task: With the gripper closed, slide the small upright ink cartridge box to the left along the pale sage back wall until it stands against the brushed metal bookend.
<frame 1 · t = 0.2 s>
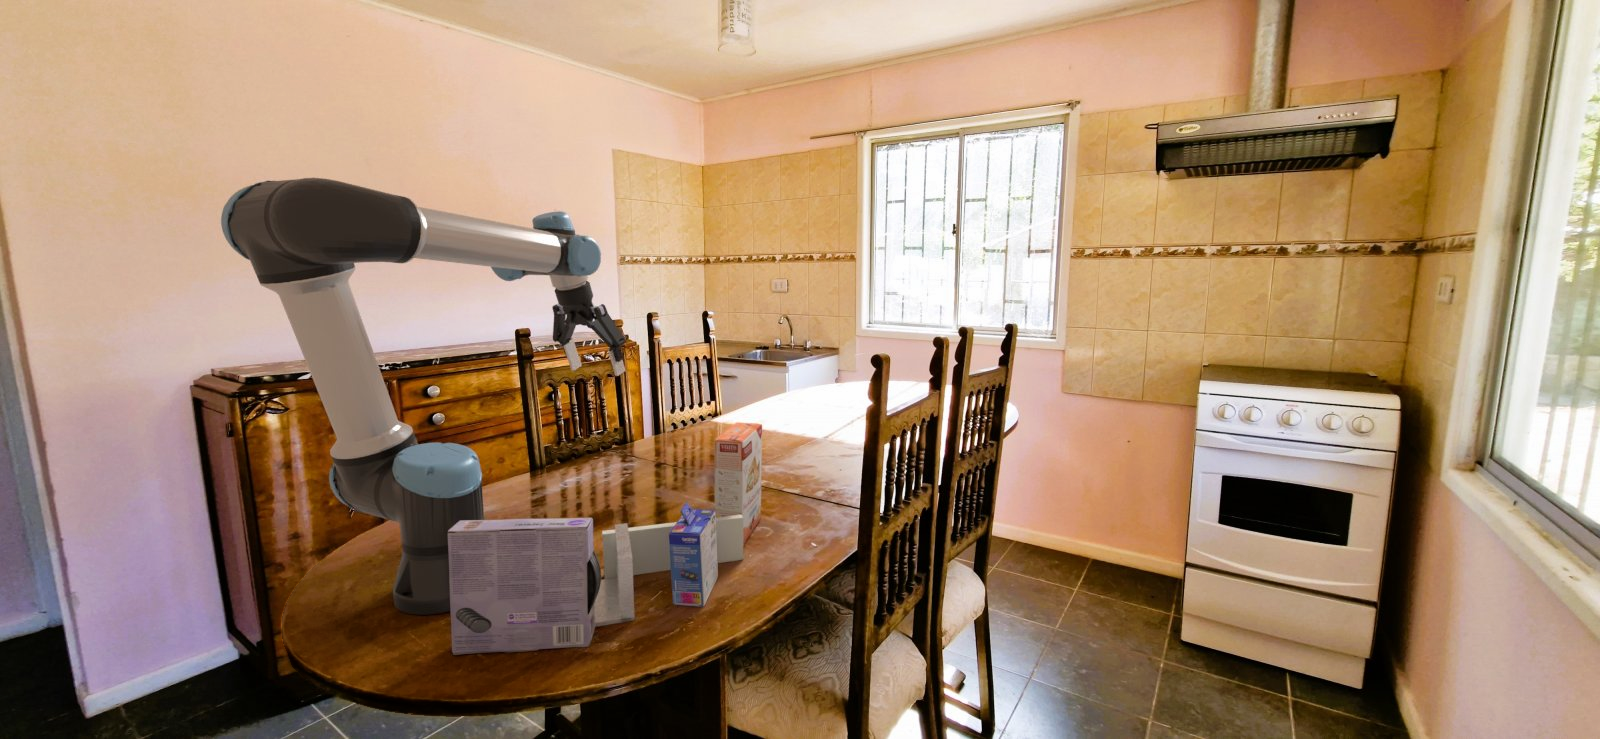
hand: (598, 370, 146), 28 cm above the table, tool tilted 20°, fingers open, 13 cm apart
cracker box: (739, 533, 125), on the table
ink cartridge box: (695, 591, 102), on the table
back wall: (675, 567, 110), on the table
cake pan box: (530, 643, 88), on the table
bookend: (625, 599, 99), on the table
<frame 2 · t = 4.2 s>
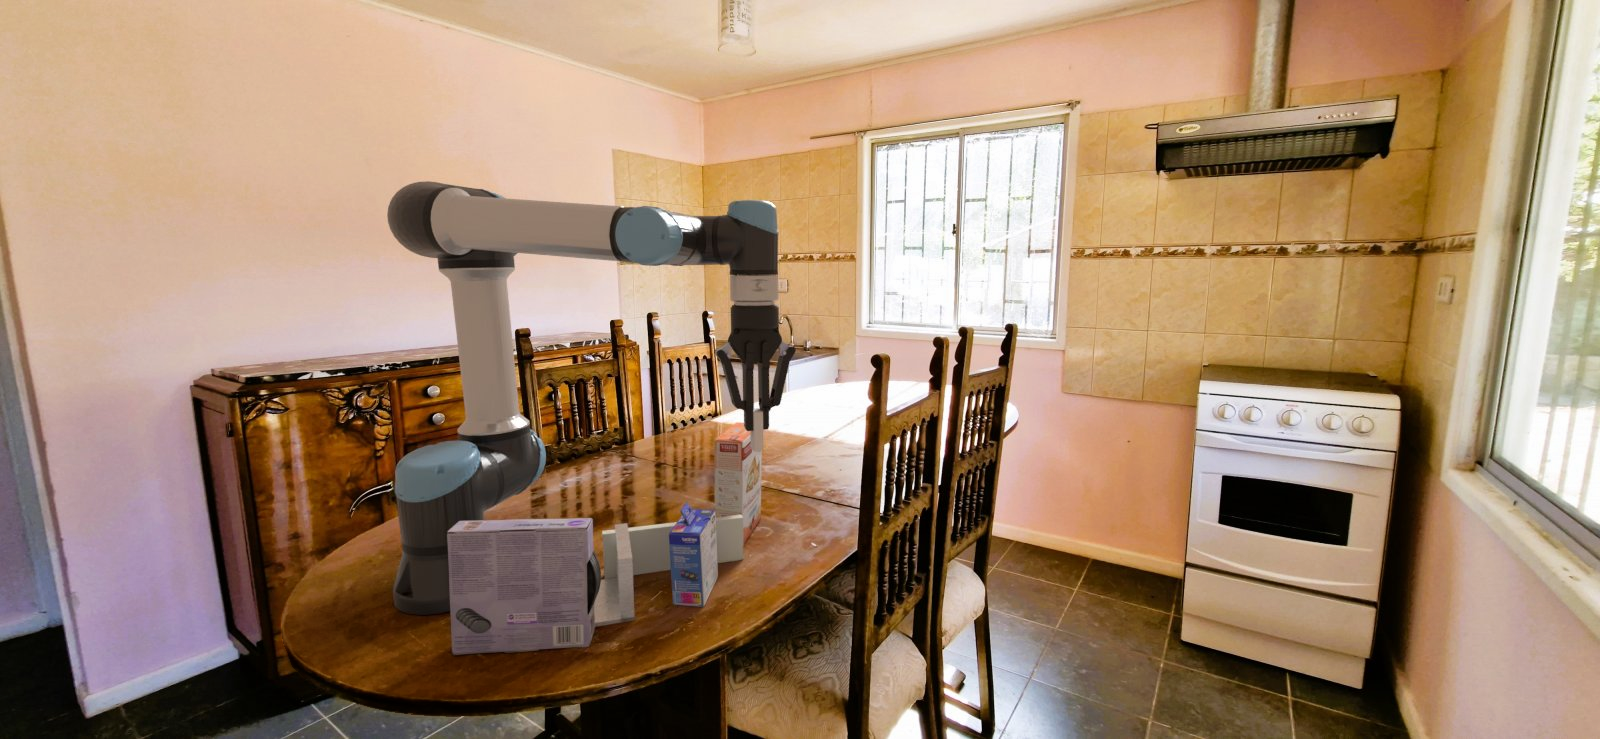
hand: (757, 449, 101), 23 cm above the table, tool pointing down, fingers closed
nothing on the table moved.
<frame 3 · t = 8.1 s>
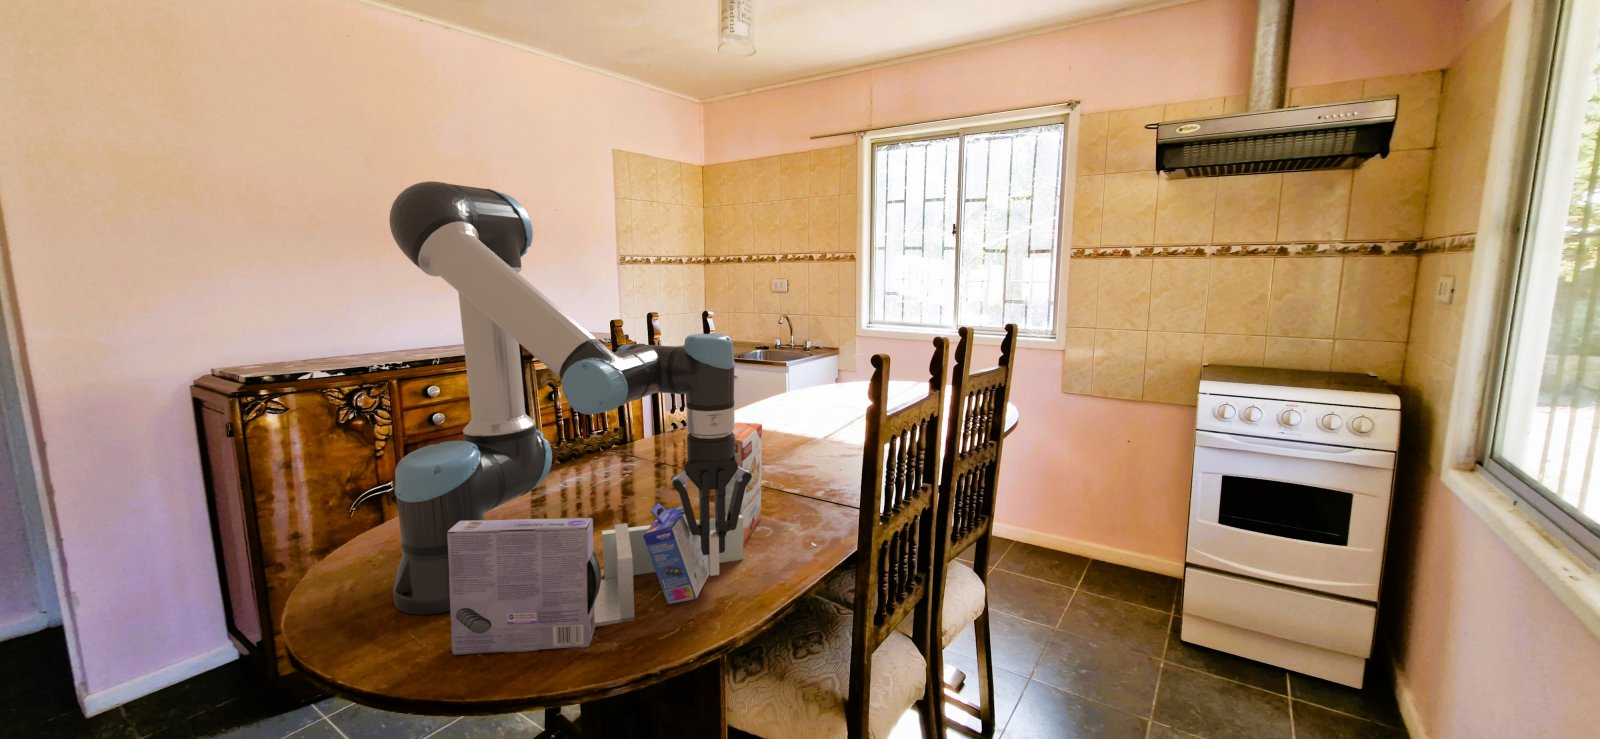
hand: (713, 571, 103), 3 cm above the table, tool pointing down, fingers closed
ink cartridge box: (690, 588, 102), on the table, touching gripper, hand
everything else where it was.
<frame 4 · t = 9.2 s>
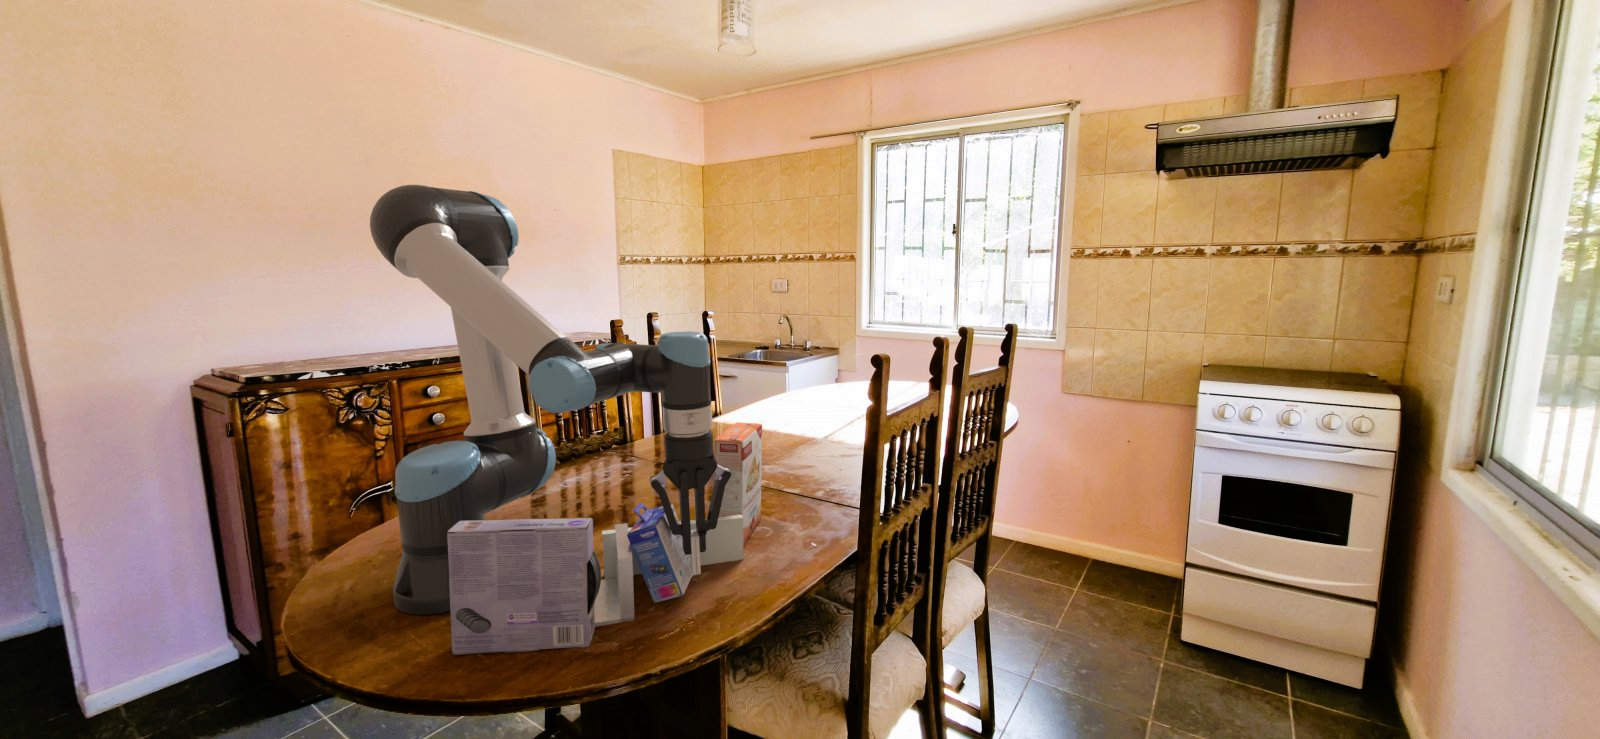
hand: (695, 570, 102), 3 cm above the table, tool pointing down, fingers closed
ink cartridge box: (675, 586, 102), point 1 cm above the table, touching bookend, gripper, hand
everything else where it was.
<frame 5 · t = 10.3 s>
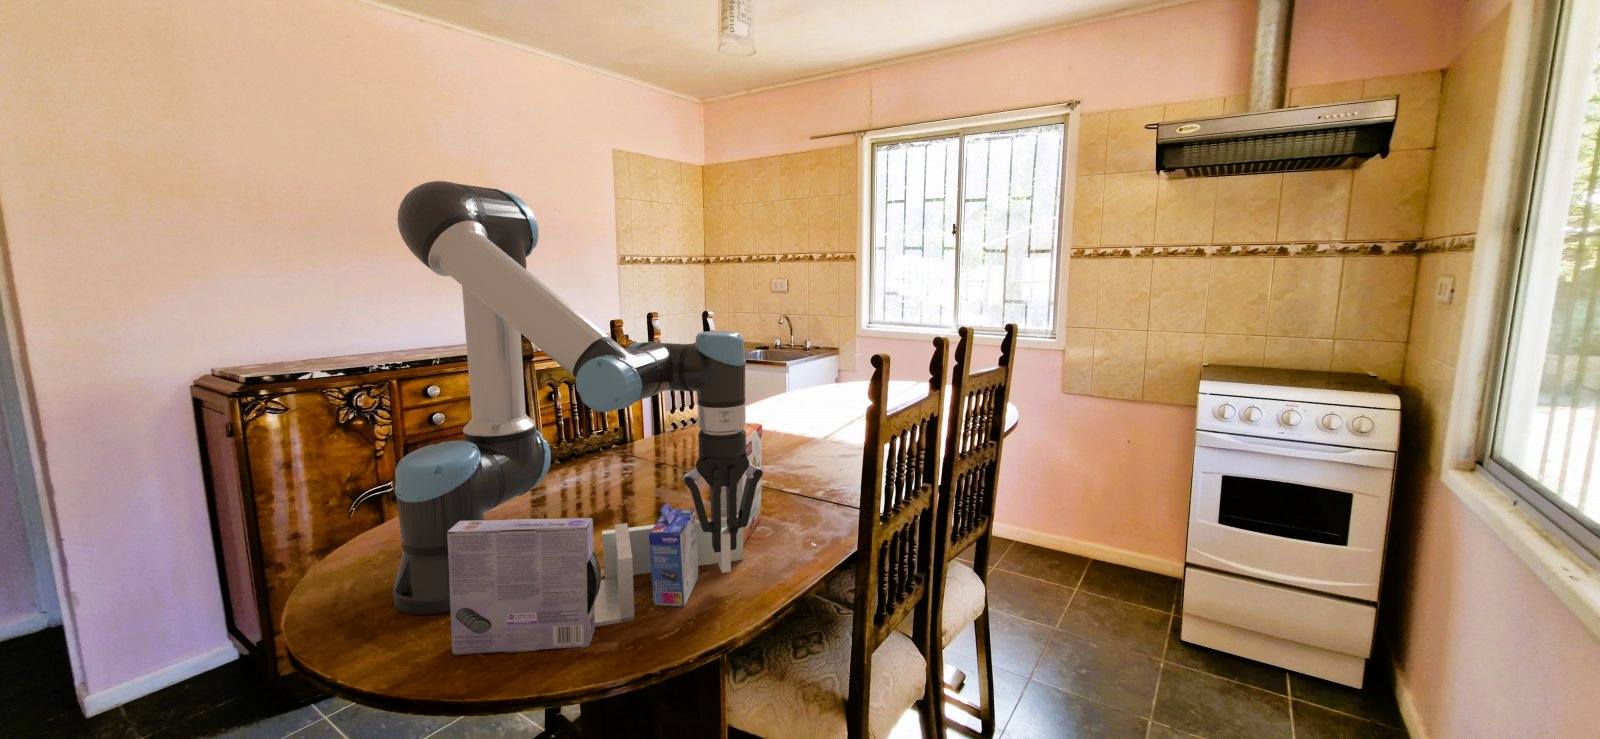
hand: (724, 568, 103), 3 cm above the table, tool pointing down, fingers closed
ink cartridge box: (675, 591, 102), on the table
everything else where it was.
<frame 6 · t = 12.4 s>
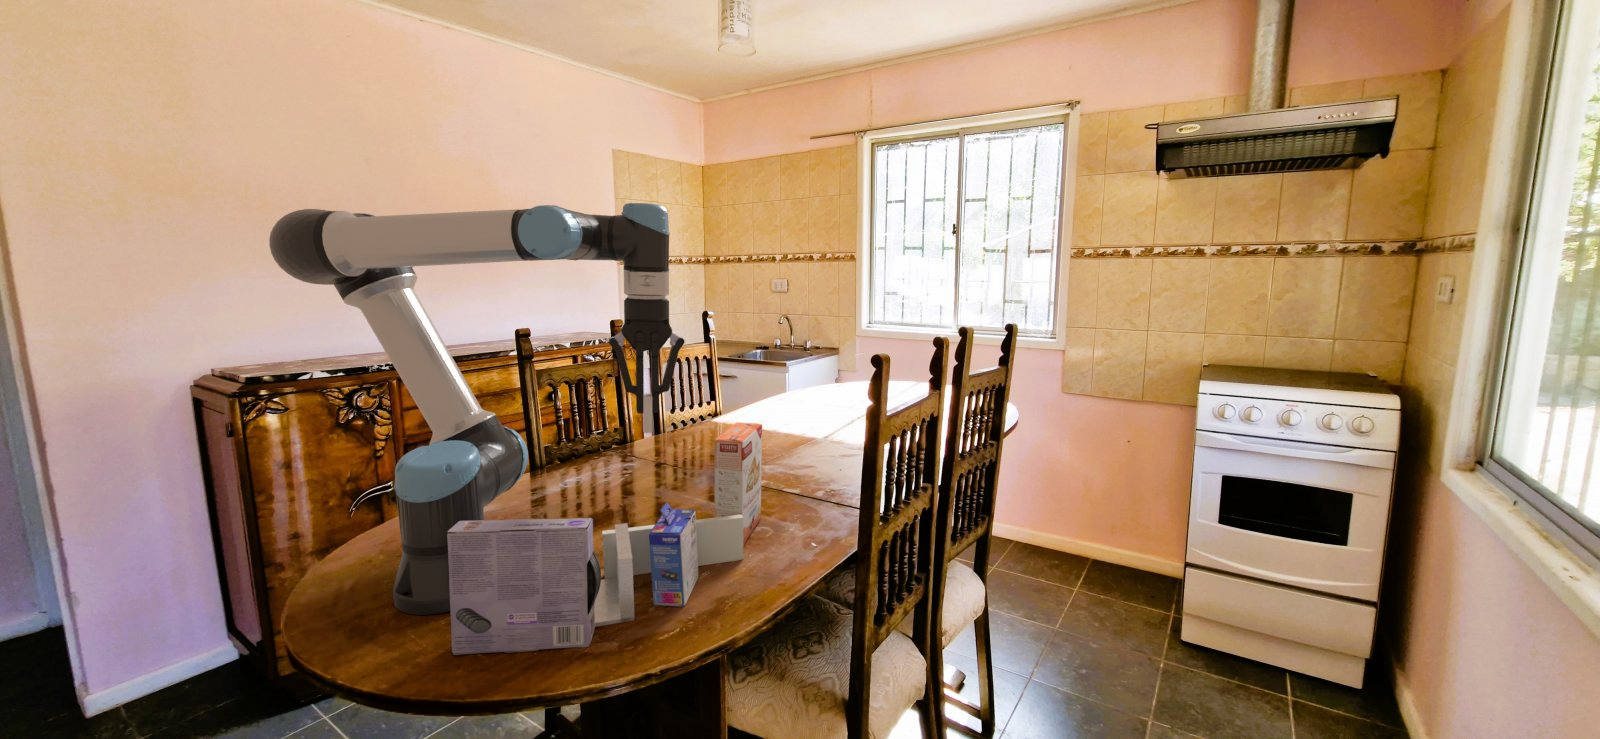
hand: (647, 430, 111), 23 cm above the table, tool pointing down, fingers closed
nothing on the table moved.
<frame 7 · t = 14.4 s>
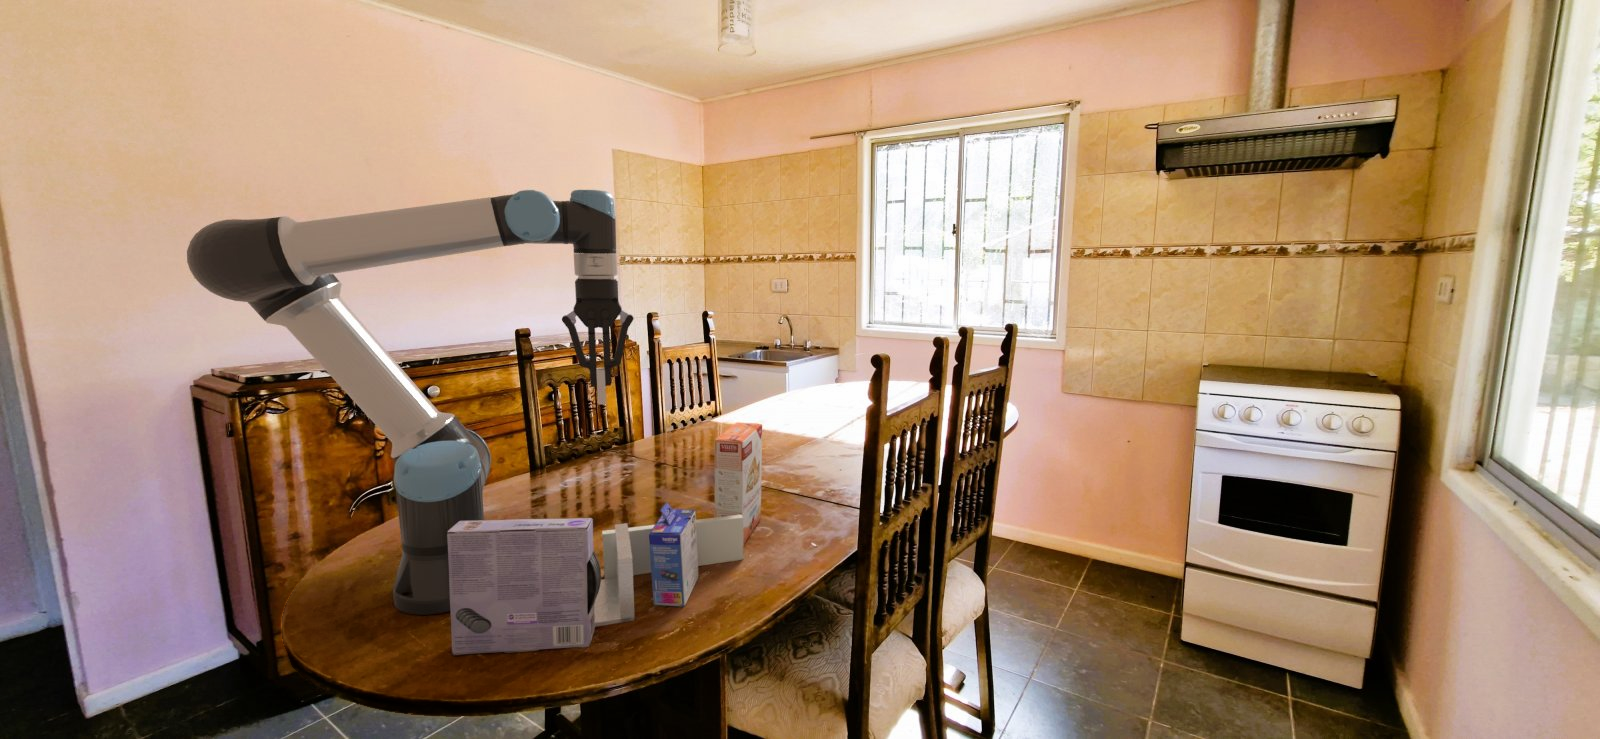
hand: (601, 402, 119), 26 cm above the table, tool pointing down, fingers closed
nothing on the table moved.
at the end: ink cartridge box inside the target area (2.6 cm from its centre), on the table; ink cartridge box tilted 0°; ink cartridge box moved 3.2 cm from its start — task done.
